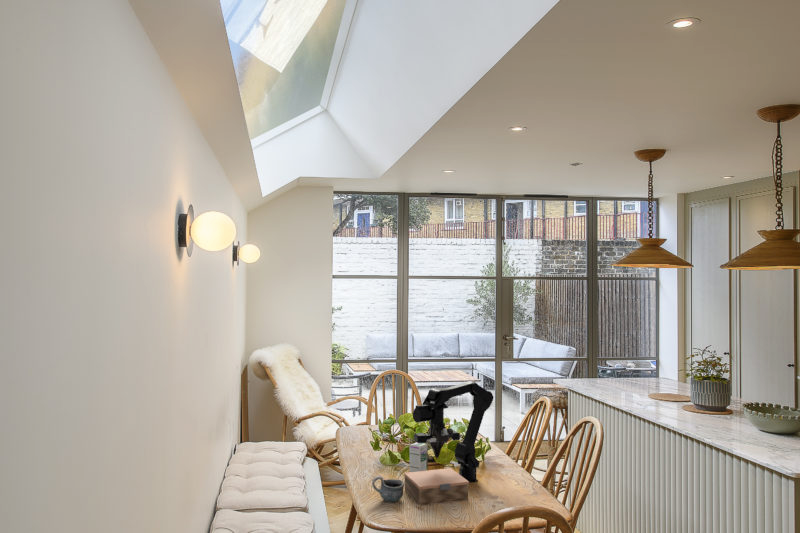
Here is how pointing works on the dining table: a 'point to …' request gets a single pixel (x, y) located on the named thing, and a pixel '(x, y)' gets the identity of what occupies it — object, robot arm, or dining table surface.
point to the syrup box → (418, 457)
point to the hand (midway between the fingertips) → (436, 457)
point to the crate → (436, 493)
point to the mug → (389, 489)
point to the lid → (436, 479)
